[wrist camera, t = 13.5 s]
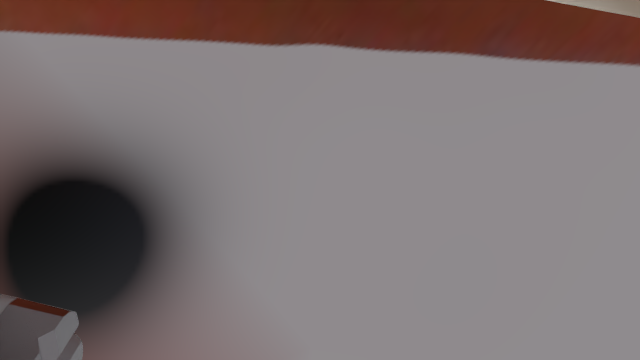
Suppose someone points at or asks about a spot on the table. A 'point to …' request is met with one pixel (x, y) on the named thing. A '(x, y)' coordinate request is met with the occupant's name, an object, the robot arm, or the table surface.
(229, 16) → the table surface
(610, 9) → the birch lid
